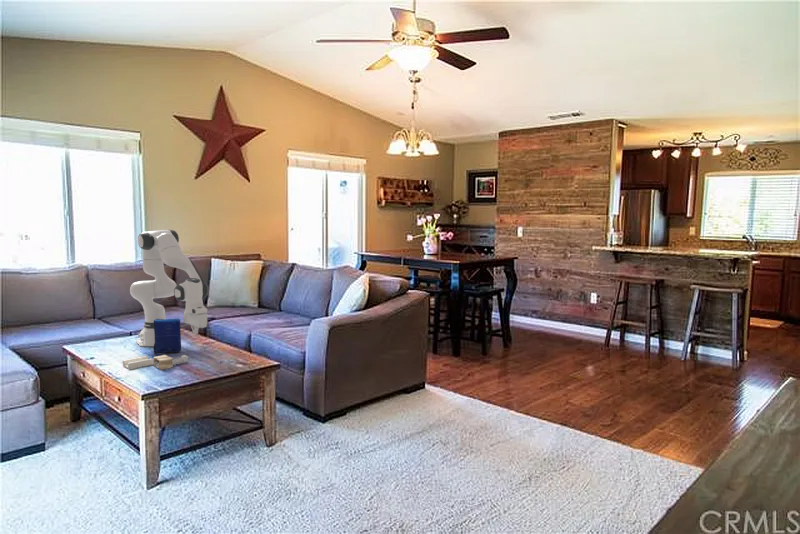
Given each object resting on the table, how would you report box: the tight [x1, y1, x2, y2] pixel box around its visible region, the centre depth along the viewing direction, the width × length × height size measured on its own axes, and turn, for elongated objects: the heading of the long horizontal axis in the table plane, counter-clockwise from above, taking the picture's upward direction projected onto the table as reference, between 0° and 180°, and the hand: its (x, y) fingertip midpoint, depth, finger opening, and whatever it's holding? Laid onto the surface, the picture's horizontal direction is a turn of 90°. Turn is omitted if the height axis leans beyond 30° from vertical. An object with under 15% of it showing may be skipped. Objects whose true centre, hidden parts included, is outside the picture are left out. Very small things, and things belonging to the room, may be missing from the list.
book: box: [153, 317, 182, 355], centre depth 298 cm, size 14×5×20 cm, turn 105°
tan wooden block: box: [152, 354, 174, 371], centre depth 273 cm, size 9×6×5 cm
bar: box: [155, 354, 189, 369], centre depth 277 cm, size 4×16×4 cm, turn 143°
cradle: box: [122, 355, 154, 370], centre depth 276 cm, size 8×12×3 cm, turn 138°
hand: (195, 333), depth 285 cm, fingers closed
